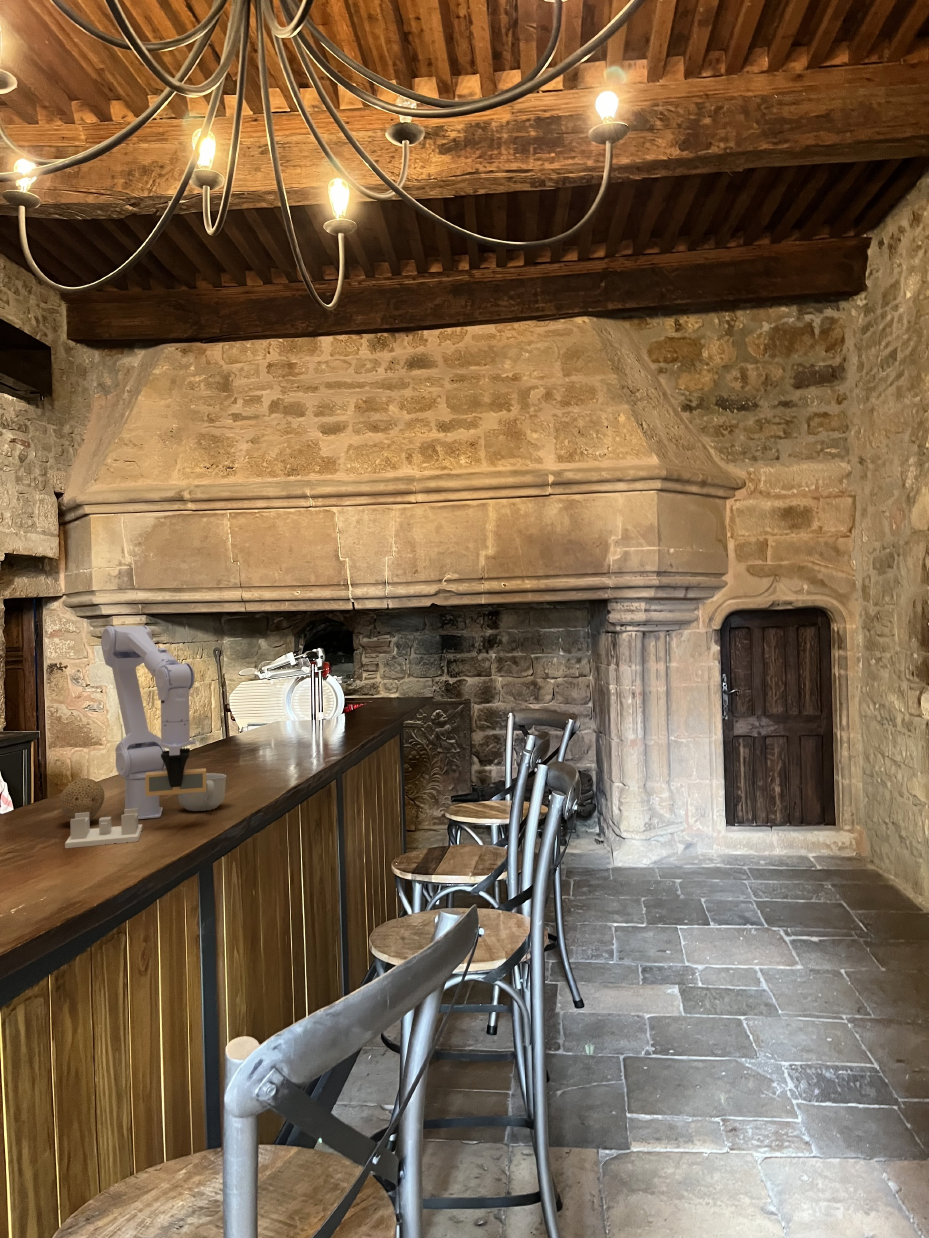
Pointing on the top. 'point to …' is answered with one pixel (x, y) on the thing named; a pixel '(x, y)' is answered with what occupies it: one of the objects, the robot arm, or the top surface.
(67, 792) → the natural sponge
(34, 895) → the top surface
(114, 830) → the display stand
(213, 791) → the teacup
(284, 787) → the top surface
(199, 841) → the top surface
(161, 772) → the wooden block with panels
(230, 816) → the top surface
